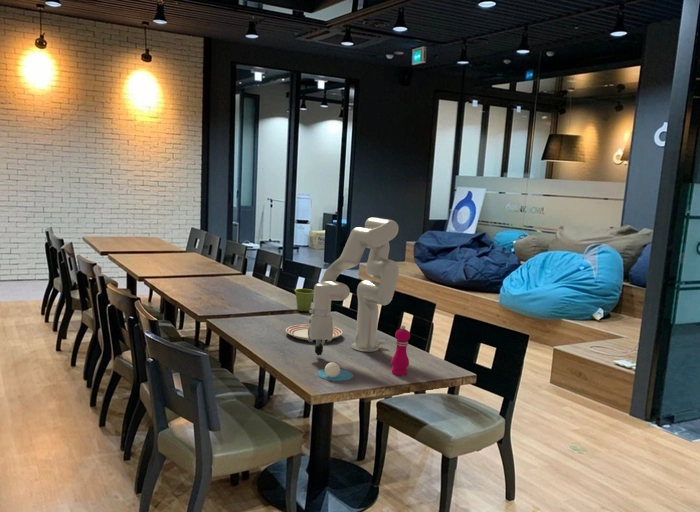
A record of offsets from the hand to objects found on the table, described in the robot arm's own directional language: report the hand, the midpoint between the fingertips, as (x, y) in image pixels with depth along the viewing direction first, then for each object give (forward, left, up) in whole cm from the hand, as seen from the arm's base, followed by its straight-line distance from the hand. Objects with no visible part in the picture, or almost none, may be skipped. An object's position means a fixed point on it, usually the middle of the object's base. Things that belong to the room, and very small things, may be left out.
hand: (318, 354), depth 258 cm
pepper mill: (-27, +24, -2) cm, 36 cm away
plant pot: (-18, -86, -2) cm, 88 cm away
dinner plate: (-8, -33, -2) cm, 34 cm away
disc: (0, +22, -2) cm, 22 cm away
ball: (+2, +25, +2) cm, 25 cm away
